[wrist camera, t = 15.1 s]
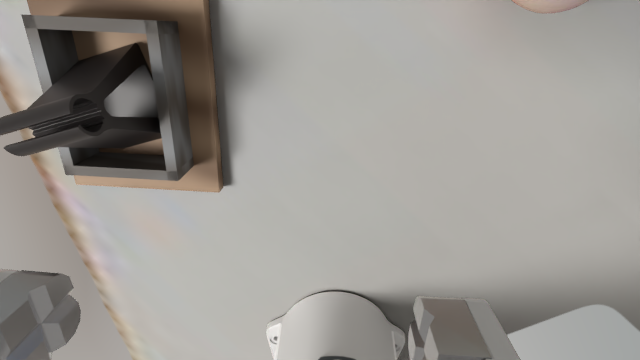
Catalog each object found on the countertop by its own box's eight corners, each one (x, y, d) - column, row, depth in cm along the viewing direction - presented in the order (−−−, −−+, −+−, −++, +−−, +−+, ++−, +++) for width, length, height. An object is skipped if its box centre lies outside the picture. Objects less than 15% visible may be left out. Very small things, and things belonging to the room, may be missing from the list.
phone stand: (178, 133, 36) (107, 180, 25) (126, 147, 36) (35, 198, 26) (138, 42, 32) (36, 50, 21) (82, 59, 33) (-45, 75, 22)
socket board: (223, 186, 40) (206, 210, 35) (85, 178, 40) (48, 200, 35) (207, -14, 31) (183, -22, 26) (34, -21, 32) (-23, -30, 27)
